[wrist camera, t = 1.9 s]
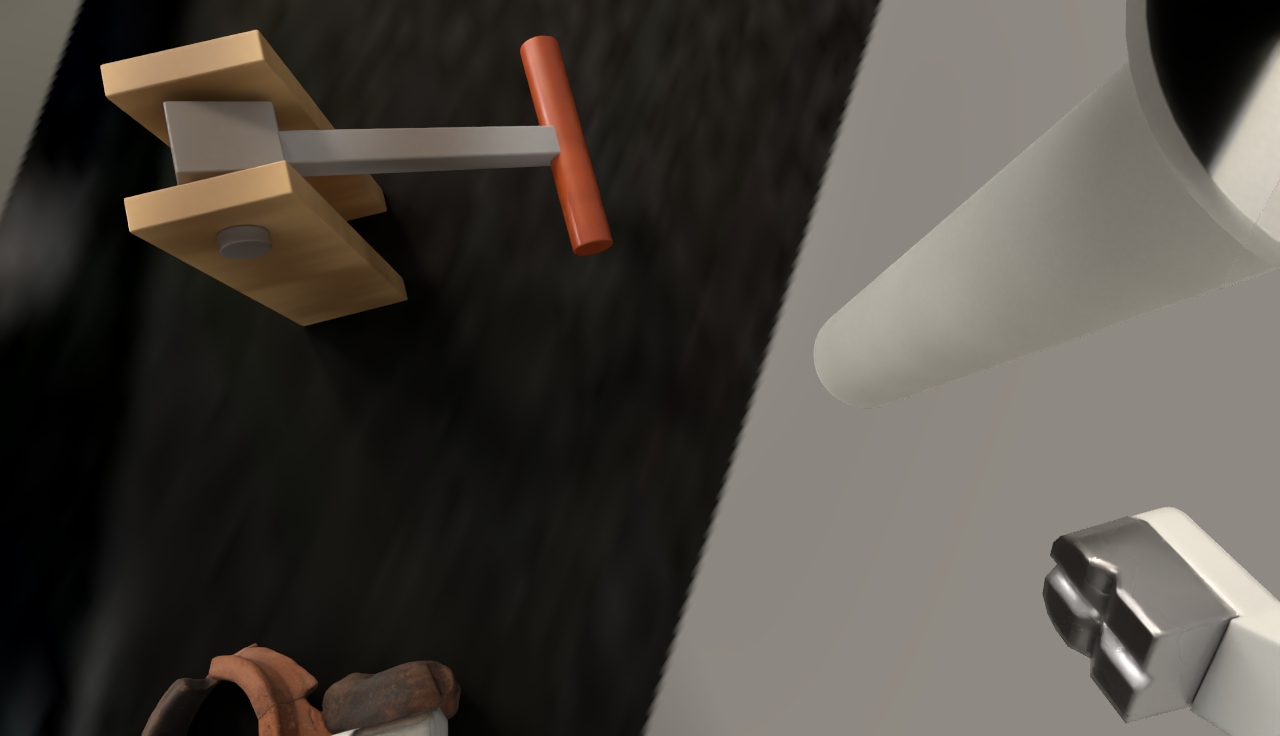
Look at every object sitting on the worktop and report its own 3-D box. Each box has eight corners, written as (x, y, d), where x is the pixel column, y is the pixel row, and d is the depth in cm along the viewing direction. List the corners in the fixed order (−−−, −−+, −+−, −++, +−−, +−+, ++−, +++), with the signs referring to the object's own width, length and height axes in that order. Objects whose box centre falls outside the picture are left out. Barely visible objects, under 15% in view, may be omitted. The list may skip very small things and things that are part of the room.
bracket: (468, 147, 36) (376, -64, 23) (515, 332, 35) (447, 227, 21) (206, 210, 35) (-52, 31, 22) (244, 403, 34) (-6, 339, 21)
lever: (546, 66, 31) (567, 27, 29) (598, 259, 29) (625, 233, 27) (153, 58, 24) (144, 7, 22) (200, 302, 23) (195, 273, 21)
